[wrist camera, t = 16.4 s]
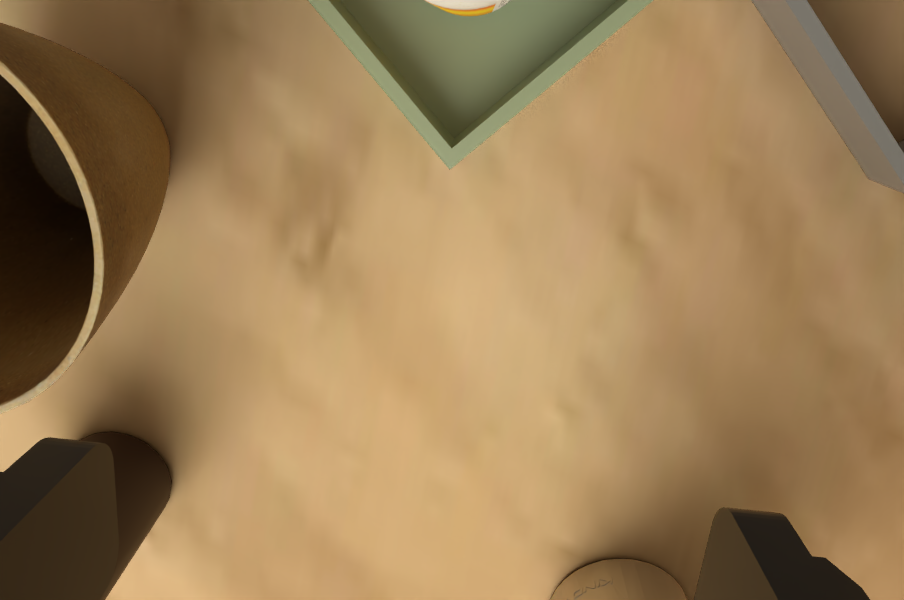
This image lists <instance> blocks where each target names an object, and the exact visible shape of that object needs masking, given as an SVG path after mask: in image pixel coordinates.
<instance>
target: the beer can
mask: <svg viewBox="0 0 904 600" xmlns="http://www.w3.org/2000/svg"><path fill="white" fill-rule="evenodd" d="M425 1H426V2H428V3H430V4H432V5H434V6H436V7H438V8H440V9H442V10H444V11H446V12H448V13H452V14H455V15H460V16H479V15H485V14H488V13H491V12H493V11H496V10H498V9H500V8H501V7H503V6H505V5H506V4H507V3H509V2H510V1H511V0H425Z"/></svg>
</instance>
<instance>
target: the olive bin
mask: <svg viewBox="0 0 904 600" xmlns="http://www.w3.org/2000/svg"><path fill="white" fill-rule="evenodd" d="M308 1H309V2H310V3H311V5H312V6H313V7H314V8H315V9H316V11H317V12H318V13H319V14H320V15H321V16H322V18H323V19H324V20H325V21H326V22H327V24H328V25H329V26H330V27H331V28H332V30H333V31H334V32H335V33H336V34H337V36H338V37H339V38H340V39H341V40H342V42H343V43H344V44H345V45H346V46H347V48H348V49H349V50H350V51H351V52H352V54H353V55H354V56H355V57H356V58H357V59H358V61H359V62H360V63H361V64H362V65H363V67H364V68H365V69H366V70H367V71H368V73H369V74H370V75H371V76H372V77H373V79H374V80H375V81H376V82H377V83H378V85H379V86H380V87H381V88H382V89H383V91H384V92H385V93H386V94H387V95H388V97H389V98H390V99H391V100H392V101H393V102H394V104H395V105H396V106H397V107H398V108H399V110H400V111H401V112H402V113H403V114H404V116H405V117H406V118H407V119H408V120H409V122H410V123H411V124H412V125H413V126H414V128H415V129H416V130H417V131H418V132H419V134H420V135H421V136H422V137H423V138H424V140H425V141H426V142H427V143H428V144H429V145H430V147H431V148H432V149H433V150H434V151H435V153H436V154H437V155H438V156H439V157H440V159H441V160H442V161H443V162H444V163H445V165H446V166H447V167H448V168H449V169H451V168H453V167H454V166H455V165H456V164H457V163H459V162H460V161H461V160H462V159H463V158H465V157H466V156H467V155H468V154H469V153H471V152H472V151H473V150H474V149H475V148H477V147H478V146H479V145H480V144H481V143H483V142H484V141H485V140H486V139H487V138H489V137H490V136H491V135H492V134H493V133H495V132H496V131H497V130H498V129H499V128H501V127H502V126H503V125H504V124H505V123H507V122H508V121H509V120H510V119H511V118H513V117H514V116H515V115H516V114H517V113H519V112H520V111H521V110H522V109H523V108H525V107H526V106H527V105H528V104H529V103H531V102H532V101H533V100H534V99H535V98H537V97H538V96H539V95H540V94H541V93H543V92H544V91H545V90H546V89H547V88H549V87H550V86H551V85H552V84H553V83H555V82H556V81H557V80H558V79H559V78H561V77H562V76H563V75H564V74H565V73H567V72H568V71H569V70H570V69H571V68H573V67H574V66H575V65H576V64H577V63H579V62H580V61H581V60H582V59H584V58H585V57H586V56H587V55H588V54H590V53H591V52H592V51H593V50H594V49H596V48H597V47H598V46H599V45H600V44H602V43H603V42H604V41H605V40H606V39H608V38H609V37H610V36H611V35H612V34H614V33H615V32H616V31H617V30H618V29H620V28H621V27H622V26H623V25H624V24H626V23H627V22H628V21H629V20H630V19H632V18H633V17H634V16H635V15H636V14H638V13H639V12H640V11H641V10H642V9H644V8H645V7H646V6H647V5H648V4H650V3H651V2H652V1H653V0H511V1H510V2H509V3H507V4H506V5H505V6H503V7H501V8H500V9H498V10H496V11H493V12H491V13H488V14H485V15H479V16H460V15H455V14H452V13H448V12H446V11H444V10H442V9H440V8H438V7H436V6H434V5H432V4H430V3H428V2H426V1H425V0H308Z"/></svg>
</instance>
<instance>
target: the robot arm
mask: <svg viewBox="0 0 904 600" xmlns="http://www.w3.org/2000/svg"><path fill="white" fill-rule="evenodd" d="M118 550H119V534H118V519H117V504H116V489H115V474H114V460H113V455H112V451H111V449H110V447H109V446H108V445H107V444H105V443H98V442H88V441H78V440H68V439H58V438H44V439H42V440H40V441H39V442H38V443H36V444H35V445H34V446H33V447H32V448H31V449H29V450H28V451H27V452H26V453H25V454H24V455H23V456H21V457H20V458H19V459H18V460H17V461H16V462H15V463H14V464H12V465H11V466H10V467H9V468H8V469H7V470H6V471H4V472H0V600H100V598H101V597H102V595H103V594H104V592H105V591H106V589H107V587H108V585H109V583H110V581H111V578H112V576H113V573H114V570H115V566H116V562H117V558H118ZM551 600H687V598H686V596H685V594H684V592H683V590H682V588H681V586H680V585H679V584H678V583H677V582H676V580H675V579H674V578H673V577H672V576H671V575H669V574H668V573H666V572H665V571H664V570H662V569H661V568H658V567H656V566H654V565H652V564H649V563H646V562H642V561H638V560H633V559H611V560H603V561H599V562H596V563H592V564H589V565H587V566H585V567H583V568H581V569H579V570H577V571H575V572H574V573H572V574H571V575H570V576H568V577H567V578H566V579H564V581H563V582H562V583H561V584H560V585H559V586H558V588H557V589H556V590H555V592H554V594H553V596H552V598H551ZM694 600H870V599H869V597H868V596H867V595H866V593H865V592H864V590H863V589H862V588H861V587H860V586H859V585H858V584H856V583H855V582H854V581H853V580H852V579H850V578H849V577H848V576H847V575H845V574H844V573H843V572H842V571H841V570H839V569H838V568H837V567H836V566H835V565H833V564H832V563H831V562H830V561H829V560H827V559H826V558H823V557H813V556H811V554H810V553H809V551H808V550H807V548H806V547H805V545H804V544H803V542H802V540H801V539H800V537H799V536H798V534H797V533H796V531H795V530H794V528H793V527H792V525H791V524H790V522H789V521H788V519H787V518H786V517H785V516H784V515H783V514H780V513H773V512H763V511H753V510H743V509H733V508H721V509H719V510H718V511H717V513H716V515H715V517H714V520H713V523H712V527H711V531H710V535H709V539H708V543H707V547H706V552H705V556H704V560H703V564H702V568H701V572H700V576H699V580H698V585H697V589H696V593H695V597H694Z"/></svg>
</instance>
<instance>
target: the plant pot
mask: <svg viewBox="0 0 904 600" xmlns="http://www.w3.org/2000/svg"><path fill="white" fill-rule="evenodd" d="M169 169H170V148H169V141H168V137H167V134H166V131H165V128H164V126H163V123H162V121H161V120H160V118H159V116H158V114H157V113H156V111H155V110H154V108H153V107H152V106H151V105H150V103H149V102H148V101H147V100H146V99H145V98H144V97H143V96H142V95H141V94H140V93H138V92H137V91H136V90H135V89H134V88H132V87H131V86H130V85H129V84H127V83H126V82H125V81H123V80H122V79H121V78H119V77H118V76H116V75H115V74H113V73H112V72H110V71H109V70H107V69H105V68H104V67H102V66H101V65H99V64H97V63H95V62H93V61H92V60H90V59H88V58H86V57H84V56H82V55H80V54H78V53H76V52H74V51H72V50H70V49H68V48H65V47H63V46H61V45H59V44H56V43H54V42H52V41H49V40H47V39H45V38H42V37H40V36H37V35H34V34H32V33H29V32H26V31H24V30H21V29H18V28H15V27H12V26H9V25H6V24H3V23H0V414H1V413H4V412H7V411H9V410H11V409H14V408H16V407H18V406H20V405H22V404H25V403H27V402H28V401H30V400H32V399H33V398H35V397H37V396H38V395H39V394H41V393H42V392H44V391H45V390H46V389H48V388H49V387H50V386H51V385H52V384H53V383H55V382H56V381H57V380H58V379H59V378H60V377H61V376H62V375H63V374H64V373H65V371H66V370H67V369H68V368H69V367H70V366H71V365H72V363H73V362H74V361H75V359H76V358H77V357H78V355H79V354H80V353H81V351H82V350H83V349H84V347H85V346H86V345H87V343H88V342H89V341H90V339H91V338H92V337H93V335H94V334H95V333H96V331H97V330H98V328H99V327H100V325H101V324H102V323H103V321H104V320H105V318H106V317H107V315H108V314H109V312H110V311H111V309H112V308H113V306H114V305H115V303H116V302H117V300H118V299H119V297H120V296H121V294H122V293H123V291H124V289H125V288H126V286H127V284H128V283H129V281H130V279H131V277H132V276H133V274H134V272H135V270H136V269H137V267H138V265H139V263H140V261H141V259H142V257H143V255H144V253H145V251H146V249H147V246H148V244H149V242H150V239H151V237H152V235H153V232H154V230H155V227H156V224H157V221H158V218H159V215H160V212H161V209H162V206H163V202H164V198H165V194H166V189H167V185H168V177H169Z"/></svg>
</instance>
